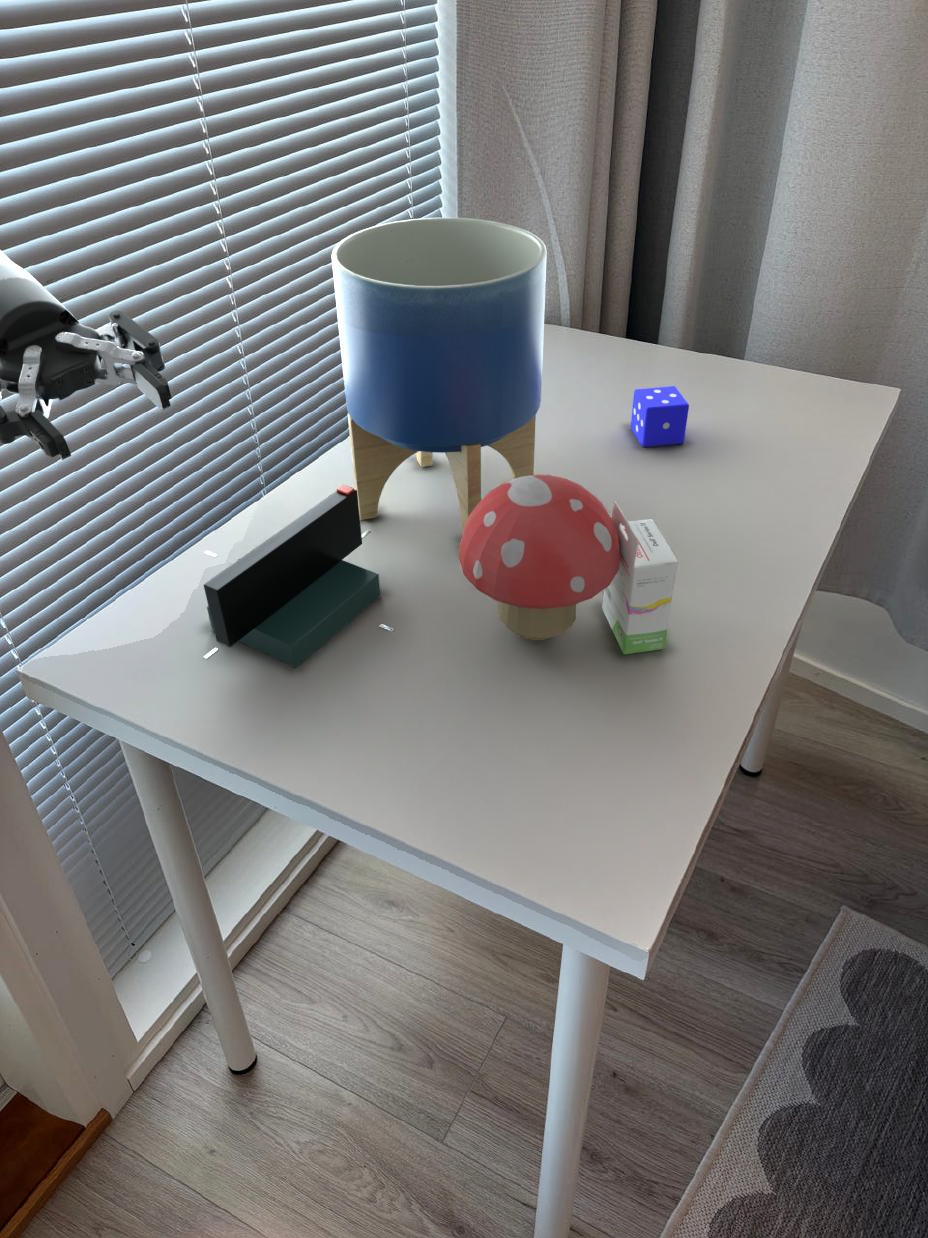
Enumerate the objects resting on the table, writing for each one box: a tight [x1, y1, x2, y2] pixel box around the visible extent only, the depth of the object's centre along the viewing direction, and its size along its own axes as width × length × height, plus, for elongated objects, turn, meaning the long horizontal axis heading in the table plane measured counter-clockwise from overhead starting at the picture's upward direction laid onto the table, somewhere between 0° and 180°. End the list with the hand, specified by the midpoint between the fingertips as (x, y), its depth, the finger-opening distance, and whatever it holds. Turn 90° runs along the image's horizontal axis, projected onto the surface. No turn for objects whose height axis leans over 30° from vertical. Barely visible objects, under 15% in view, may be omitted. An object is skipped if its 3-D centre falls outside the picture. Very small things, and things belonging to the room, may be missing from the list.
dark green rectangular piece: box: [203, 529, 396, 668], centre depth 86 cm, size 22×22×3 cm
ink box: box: [601, 500, 679, 656], centre depth 81 cm, size 7×4×12 cm, turn 10°
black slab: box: [203, 484, 363, 648], centre depth 83 cm, size 18×2×6 cm, turn 147°
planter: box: [330, 217, 548, 532], centre depth 93 cm, size 19×19×26 cm
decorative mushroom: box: [458, 474, 620, 641], centre depth 79 cm, size 13×13×15 cm
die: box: [630, 385, 690, 448], centre depth 110 cm, size 5×5×5 cm
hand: (116, 424), depth 72 cm, fingers open, 8 cm apart
